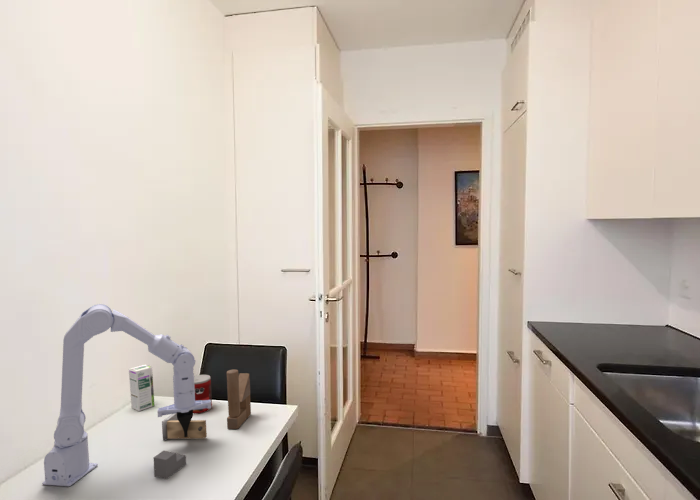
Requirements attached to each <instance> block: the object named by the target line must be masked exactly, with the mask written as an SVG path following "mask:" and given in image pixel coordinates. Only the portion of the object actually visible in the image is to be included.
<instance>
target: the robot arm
mask: <svg viewBox="0 0 700 500" xmlns="http://www.w3.org/2000/svg"><path fill="white" fill-rule="evenodd" d="M108 330H110V332H112V333H113V332H114V333H115V332H124V333H125V334H127V335H129V336H130V337H133V338H135V340H138V341H140V342H141V343H143V344H145V345H147V351H148V352H149V353H150V354H152V355H154V356H155V357H156V358H159V359H160V360H162V361H164V362H166V364H172V365H173V368H172V369H173V376H172V378H173V379H172V384H173V385H172V386H173V404H169V405H165V406H161V407H158V408H157V418H161V417H163V416H167V415H169V416H170V415H171V414H175V413H177V419H178V421H179V422H180V424H181V426H182V428H183V431H184V437H188V433H187V431H188V427H189V424H190V421H191V420H193V417H194V414H193V410H198V409H204V408H207V409H210V408H211V409H212V406H211V400H198V401H195V387H194V376H195V373H194V367H195V365H196V359H195V356H194V354H193V353H192V352H191V350H190V349H188V347H186V346H185V345H184V344H179V343H177V342H176V341H174V340H172V337H171V336H170V335H169V334H162V333H160V334H153V333H152V332H151V331H149V330H148V329H146V328H145V327H143V326H142V325H140V324H139V323H138V322H136V321H135V320H133V319H132V318H130V317H129V316H127V315H125V314H124V313H122V312H120V311H119V310H116V309H114V308H112V309H111V307H110V306H109V305H106V304H104V303H99V304H98V303H97V304H94V305H92V306H90V307H89V308H87V309H86V310H84V311H82V312H81V314H80V315H79V317H78V318H77V319H76V321H74V323H73V324H72V325H71V326H70V327H69V329H68V330H67V331H66V333H65V335H64V337H63V344H62V346H63V347H62V365H61V366H62V367H61V368H62V371H61V390H60V391H61V393H60V410H59V417H58V418H57V422H56V423H57V425H56V426H55V430H54V433H53V440H54V442H53V444H54V445H53V447H52V448H51V450H50V451H49V452H48V453H47V454H46V455H45V456H44V458H43V459H44V460H43V470H44V481H42V485H47V486H58V487H71V486H72V485H74V484H75V483H76V482H78V481H79V480H81V479H82V478H83V477H85V476H86V475H88V473H90V472H91V471H92V470H93V469H95V468H96V467H98V465H99V464H98V463H97V462H90V456H89V455H90V452H89V439H88V436H89V435H88V433H87V432H86V431H85V422H86V414H85V412H84V410H83V383H84V382H83V381H84V380H83V379H84V378H83V377H84V375H83V374H84V355H85V354H84V352H85V344H86V343H87V342H88V341H90V340H91V339H92V338H93V337H95V336H97V335H100V334H102V333H105V332H107V331H108ZM211 409H210V410H211Z"/></svg>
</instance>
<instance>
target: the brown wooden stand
mask: <svg viewBox="0 0 700 500" xmlns="http://www.w3.org/2000/svg"><path fill="white" fill-rule="evenodd" d="M226 385H227V386H226V389H227V410H228V411H227V412H228V416H227V418H226V424H227V427H226V428H227V429H228V430H239V428H241V426H242V425H243V424H244V423H245V422H246V420H247V419H248V418H249V417H250V416H251V415H252V412H251V411H252V406H251V379H250V373H247V372H245V373H242V372H241V373H239V370H238V369H233V368H232V369H229V370H227V371H226Z"/></svg>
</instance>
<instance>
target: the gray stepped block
mask: <svg viewBox="0 0 700 500" xmlns="http://www.w3.org/2000/svg"><path fill="white" fill-rule="evenodd" d="M152 460H153V473H154V474H153V475H154V477H155V478H159V479H164V480H165V479H166V480H168V479H169V478H170V477H171V476H173V475H174V474H175V473H176V472H178V471H180V469H182V468H183V467H184V466H185V465H187V455H186V454H182V453H177V452H174V451H169V450H168V451H167V450H162V451H161V452H158V454H157V455H155V456H154V457H153V459H152Z"/></svg>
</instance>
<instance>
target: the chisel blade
mask: <svg viewBox="0 0 700 500" xmlns="http://www.w3.org/2000/svg"><path fill="white" fill-rule="evenodd" d="M171 420H178V419H177V413H175V414H169V416H167V417H166V418H165V419H164V420H162V421H161V428H162V429H161V431H162V432H161V433H162V434H161V435H162V441H167V440H169V439H168V435H167V421H171Z"/></svg>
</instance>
